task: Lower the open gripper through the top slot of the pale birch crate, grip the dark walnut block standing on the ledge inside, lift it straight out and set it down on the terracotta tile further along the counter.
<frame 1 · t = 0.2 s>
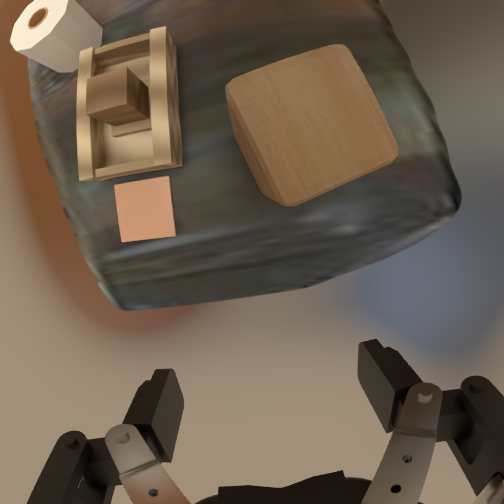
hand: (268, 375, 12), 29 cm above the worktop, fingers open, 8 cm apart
crate: (137, 110, 35), on the worktop
walnut block: (131, 106, 33), point 2 cm above the worktop, touching crate
toilet paper: (76, 46, 32), on the worktop
tile: (145, 209, 38), on the worktop
wooden block: (281, 149, 37), on the worktop
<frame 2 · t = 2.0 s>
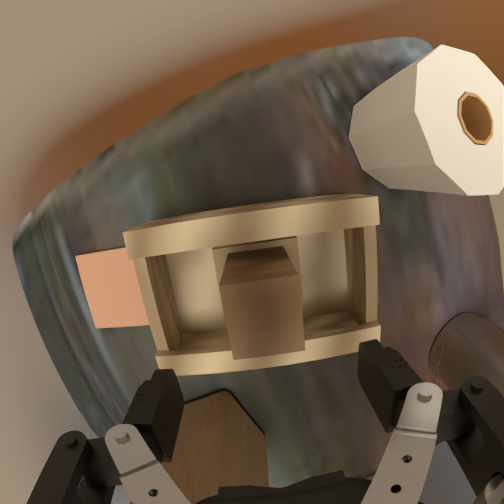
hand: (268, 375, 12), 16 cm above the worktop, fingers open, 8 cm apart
crate: (258, 270, 27), on the worktop
walnut block: (259, 278, 25), point 2 cm above the worktop, touching crate
toilet paper: (395, 137, 25), on the worktop
tile: (119, 288, 28), on the worktop
wooden block: (213, 423, 32), on the worktop
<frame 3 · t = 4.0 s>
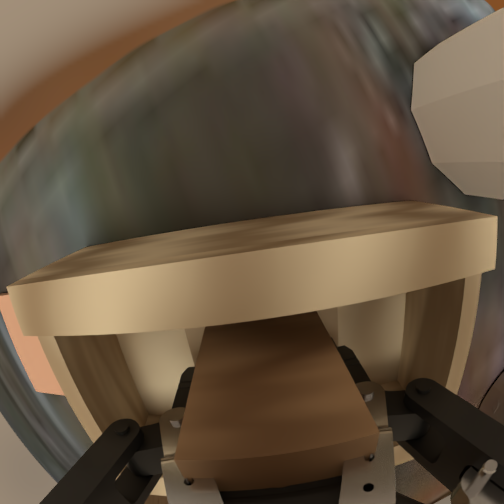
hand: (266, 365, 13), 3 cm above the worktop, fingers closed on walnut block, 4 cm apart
crate: (262, 330, 16), on the worktop
walnut block: (266, 354, 13), point 2 cm above the worktop, touching crate, gripper
toilet paper: (469, 118, 14), on the worktop
tile: (54, 344, 16), on the worktop
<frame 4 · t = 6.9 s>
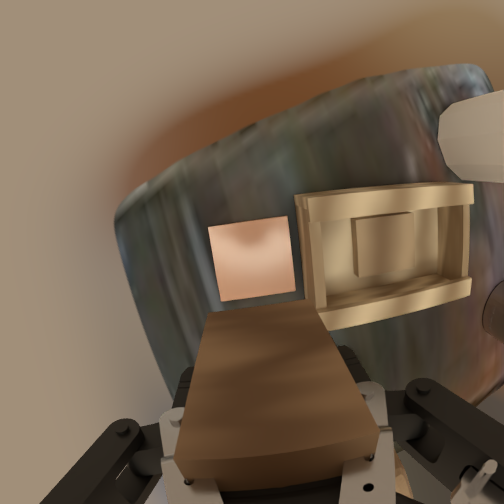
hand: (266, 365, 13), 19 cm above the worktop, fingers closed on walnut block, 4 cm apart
crate: (377, 240, 31), on the worktop
walnut block: (266, 353, 13), point 18 cm above the worktop, touching gripper
toilet paper: (464, 142, 29), on the worktop
tile: (253, 258, 31), on the worktop
wooden block: (318, 389, 36), on the worktop
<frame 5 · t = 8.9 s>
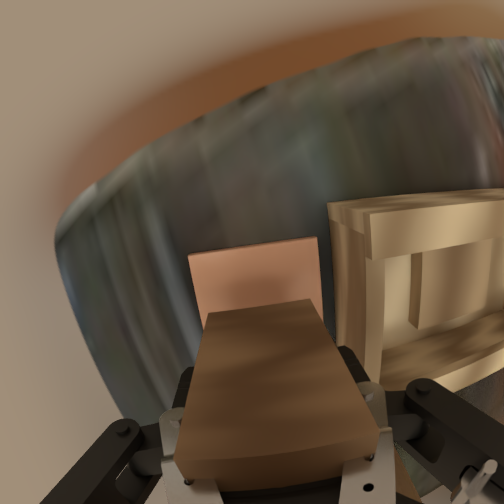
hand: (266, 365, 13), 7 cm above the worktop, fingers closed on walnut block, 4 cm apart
crate: (440, 270, 19), on the worktop
walnut block: (266, 353, 13), point 6 cm above the worktop, touching gripper
tile: (260, 303, 20), on the worktop
wooden block: (341, 455, 24), on the worktop
when the fingers open (3 cm above the worktop, at t = 10.2 s): walnut block drops 2 cm, resting on tile.
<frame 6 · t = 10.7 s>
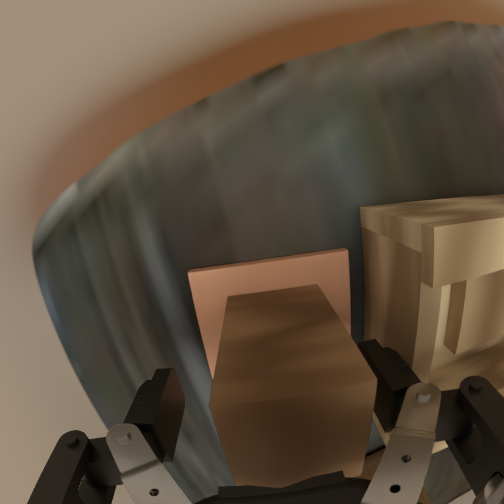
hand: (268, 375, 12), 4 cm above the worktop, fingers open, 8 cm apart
crate: (478, 285, 16), on the worktop
walnut block: (278, 334, 15), point 1 cm above the worktop, touching tile
tile: (276, 329, 16), on the worktop
wooden block: (357, 481, 20), on the worktop
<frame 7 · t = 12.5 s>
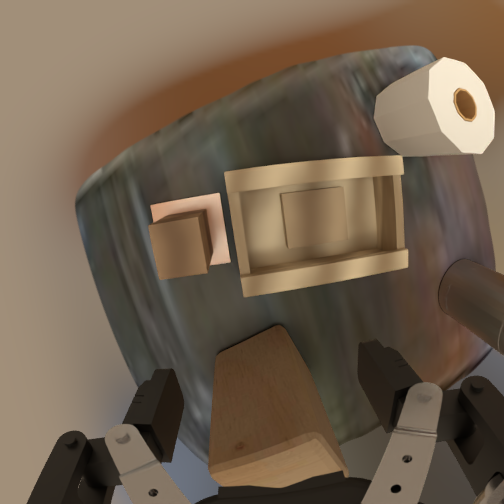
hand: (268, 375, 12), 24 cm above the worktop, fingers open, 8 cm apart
crate: (310, 214, 34), on the worktop
walnut block: (190, 233, 33), point 1 cm above the worktop, touching tile
toilet paper: (405, 120, 32), on the worktop
tile: (191, 232, 34), on the worktop
wooden block: (263, 362, 39), on the worktop
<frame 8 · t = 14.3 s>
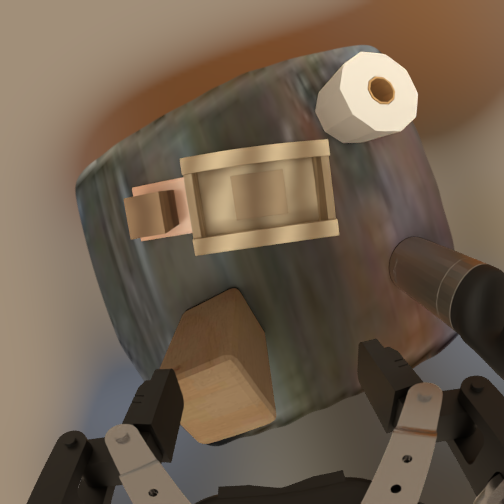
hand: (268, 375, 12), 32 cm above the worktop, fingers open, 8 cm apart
crate: (258, 194, 42), on the worktop
walnut block: (161, 209, 41), point 1 cm above the worktop, touching tile
toilet paper: (347, 111, 39), on the worktop
tile: (162, 209, 42), on the worktop
wooden block: (224, 323, 46), on the worktop
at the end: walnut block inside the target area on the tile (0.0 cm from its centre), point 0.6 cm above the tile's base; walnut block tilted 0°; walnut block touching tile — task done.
